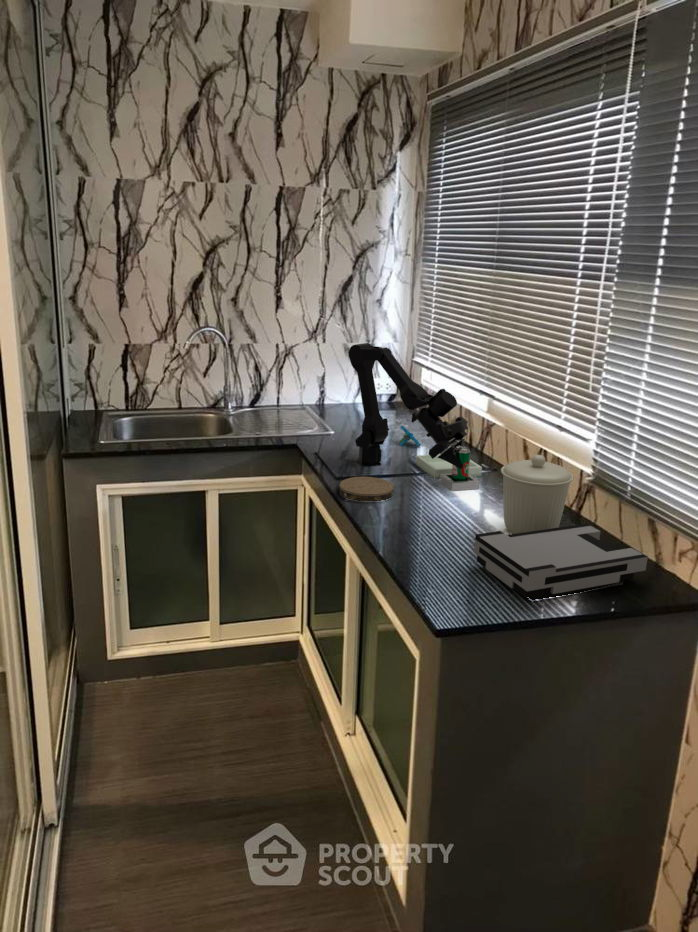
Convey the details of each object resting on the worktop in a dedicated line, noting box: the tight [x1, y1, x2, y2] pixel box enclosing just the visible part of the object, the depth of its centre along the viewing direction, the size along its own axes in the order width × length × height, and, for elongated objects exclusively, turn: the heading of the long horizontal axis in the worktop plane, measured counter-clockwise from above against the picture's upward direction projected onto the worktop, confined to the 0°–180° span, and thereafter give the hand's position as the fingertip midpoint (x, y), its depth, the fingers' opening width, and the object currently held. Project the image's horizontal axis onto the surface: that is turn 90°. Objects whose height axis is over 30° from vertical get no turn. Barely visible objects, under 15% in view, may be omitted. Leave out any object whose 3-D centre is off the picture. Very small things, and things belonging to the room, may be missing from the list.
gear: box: [399, 425, 422, 447], centre depth 275 cm, size 11×6×10 cm
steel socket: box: [439, 473, 480, 492], centre depth 234 cm, size 9×9×2 cm
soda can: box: [451, 445, 471, 482], centre depth 233 cm, size 5×5×12 cm
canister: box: [500, 454, 574, 534], centre depth 197 cm, size 18×18×21 cm
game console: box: [473, 523, 649, 600], centre depth 175 cm, size 21×32×8 cm, turn 113°
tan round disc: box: [338, 476, 395, 501], centre depth 224 cm, size 16×16×3 cm
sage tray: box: [415, 454, 483, 480], centre depth 249 cm, size 16×16×3 cm
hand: (465, 465), depth 232 cm, fingers closed on soda can, 5 cm apart
